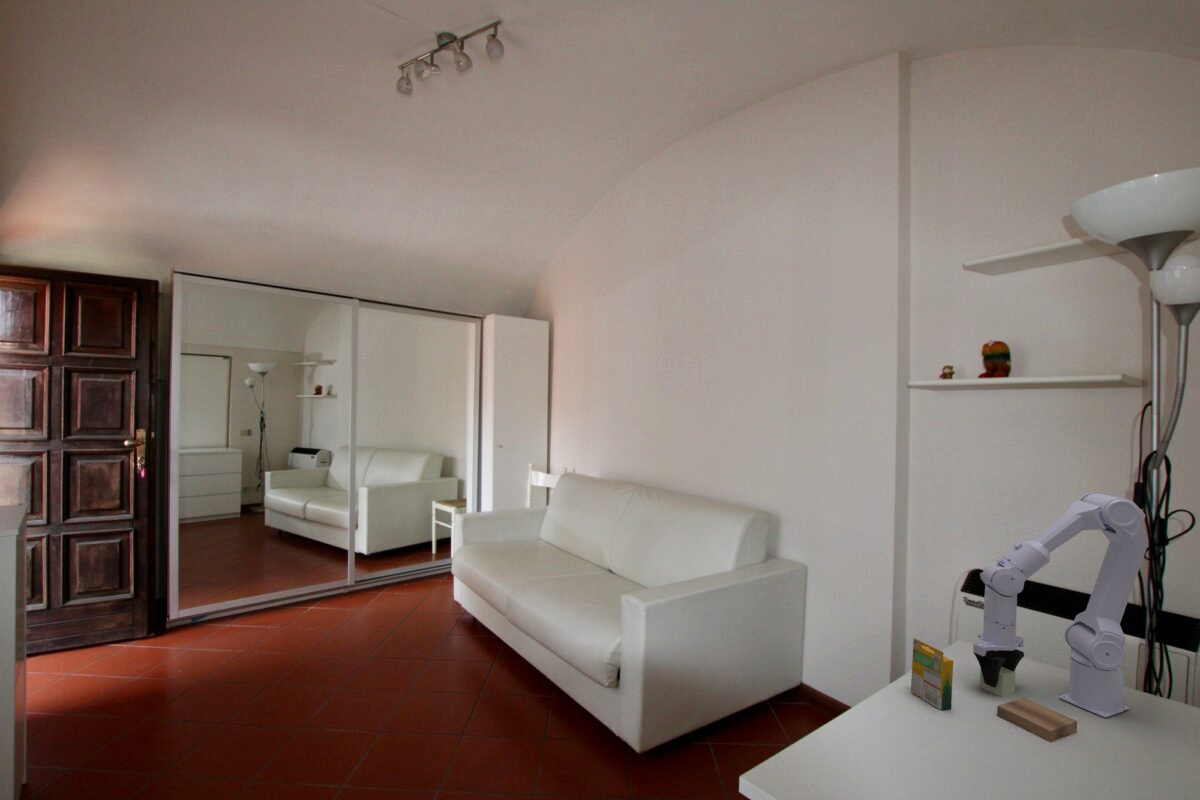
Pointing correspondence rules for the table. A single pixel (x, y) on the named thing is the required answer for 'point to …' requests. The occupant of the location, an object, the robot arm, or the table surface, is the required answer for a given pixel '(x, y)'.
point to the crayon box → (931, 675)
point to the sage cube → (1001, 683)
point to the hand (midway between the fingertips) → (997, 683)
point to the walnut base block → (1037, 719)
